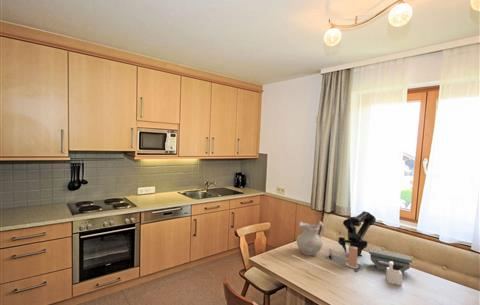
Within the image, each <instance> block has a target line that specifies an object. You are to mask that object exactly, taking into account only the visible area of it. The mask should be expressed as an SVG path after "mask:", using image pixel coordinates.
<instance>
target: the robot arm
mask: <svg viewBox="0 0 480 305" xmlns="http://www.w3.org/2000/svg"><path fill="white" fill-rule="evenodd" d="M376 221H377V220H376V217H375V215H374V214H373V215H372V214H371V213H370V212H369V211H365V210H364V211H362V212H361V213H359V214H358V215H357V216H352V217H348V218H347V219H345V220H343V222H342V224H343V226H344V227H345V229H346V230H347V239H346V238H345V237H342V236H340V237H338V241H337V243H338V244H339V245H340V246H342V249H343V250H344V253H345V254H346V253H347V246H346V244H349V246H354V247H357V249H358V254H357V257H363V254H362V251H364V250H365V248H367V247H368V245H369V244H368V241H367V240H364V239H363V238H364V237H365V235H366V233H367V231H368V229H369V228H370V227H371V226H373V225H374V224H375V223H376ZM357 227H359V230H358V231H357Z"/></svg>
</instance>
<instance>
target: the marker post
mask: <svg viewBox="0 0 480 305" xmlns="http://www.w3.org/2000/svg"><path fill="white" fill-rule="evenodd" d="M357 254H358V249H357V247H354V246H350V245H349V246H348V259H347V260H348V264H349V265H350V266H355V267H357V264H358V256H357Z"/></svg>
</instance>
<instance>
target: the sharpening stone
mask: <svg viewBox="0 0 480 305" xmlns="http://www.w3.org/2000/svg"><path fill="white" fill-rule="evenodd" d="M368 254H369V255H370V261H371V262H372V263H373V264H374V265H375V267H376V268H377V269H378V270H380V271H384V272H386V270H387V267H389V262H390V261H394V262H397V263H399V264H400V271H401V273H402V274H403V273H404V272H405V271H407V270H409V269H410V268H411V266H410V264H412V263H413V259H412V256H411V255H406V254H402V253H397V252H396V253H395V252H391V251H385V250H382V249H381V250H380V249H376V248H372V247H371V248H370V247H369V248H368Z"/></svg>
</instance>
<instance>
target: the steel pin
mask: <svg viewBox="0 0 480 305" xmlns="http://www.w3.org/2000/svg"><path fill="white" fill-rule="evenodd" d="M333 250H334V249H332V248H329V249H328V256H329V257H332V255H334V253H333V252H334V251H333Z"/></svg>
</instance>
